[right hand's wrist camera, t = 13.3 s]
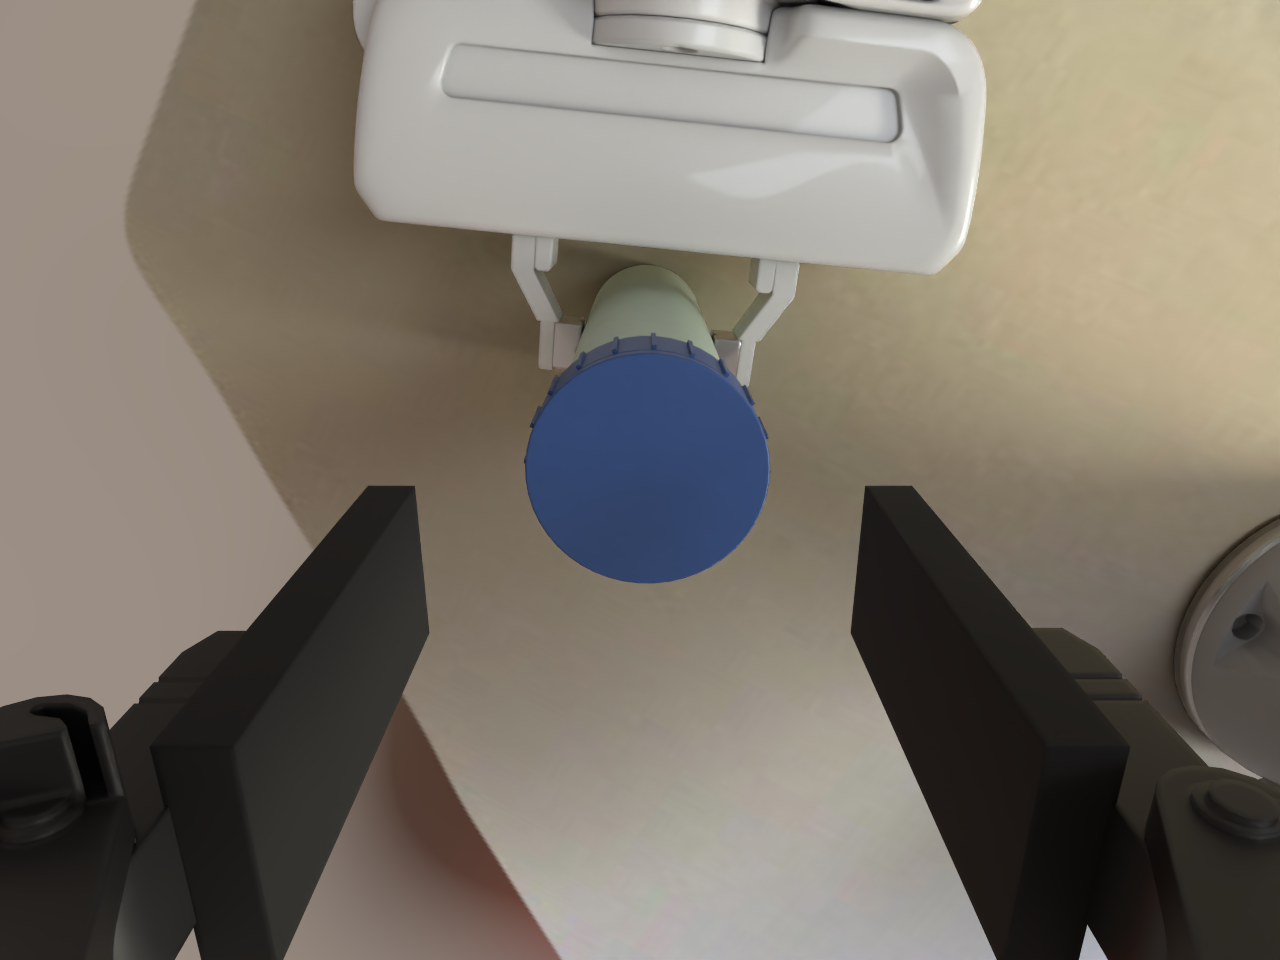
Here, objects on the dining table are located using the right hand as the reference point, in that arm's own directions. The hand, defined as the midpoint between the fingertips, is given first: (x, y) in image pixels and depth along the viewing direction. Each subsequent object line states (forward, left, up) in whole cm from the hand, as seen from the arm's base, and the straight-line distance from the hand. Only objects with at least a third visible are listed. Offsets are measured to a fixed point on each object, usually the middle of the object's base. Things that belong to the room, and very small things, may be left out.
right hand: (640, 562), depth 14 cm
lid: (0, 0, -5) cm, 5 cm away
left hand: (0, +1, -18) cm, 18 cm away
